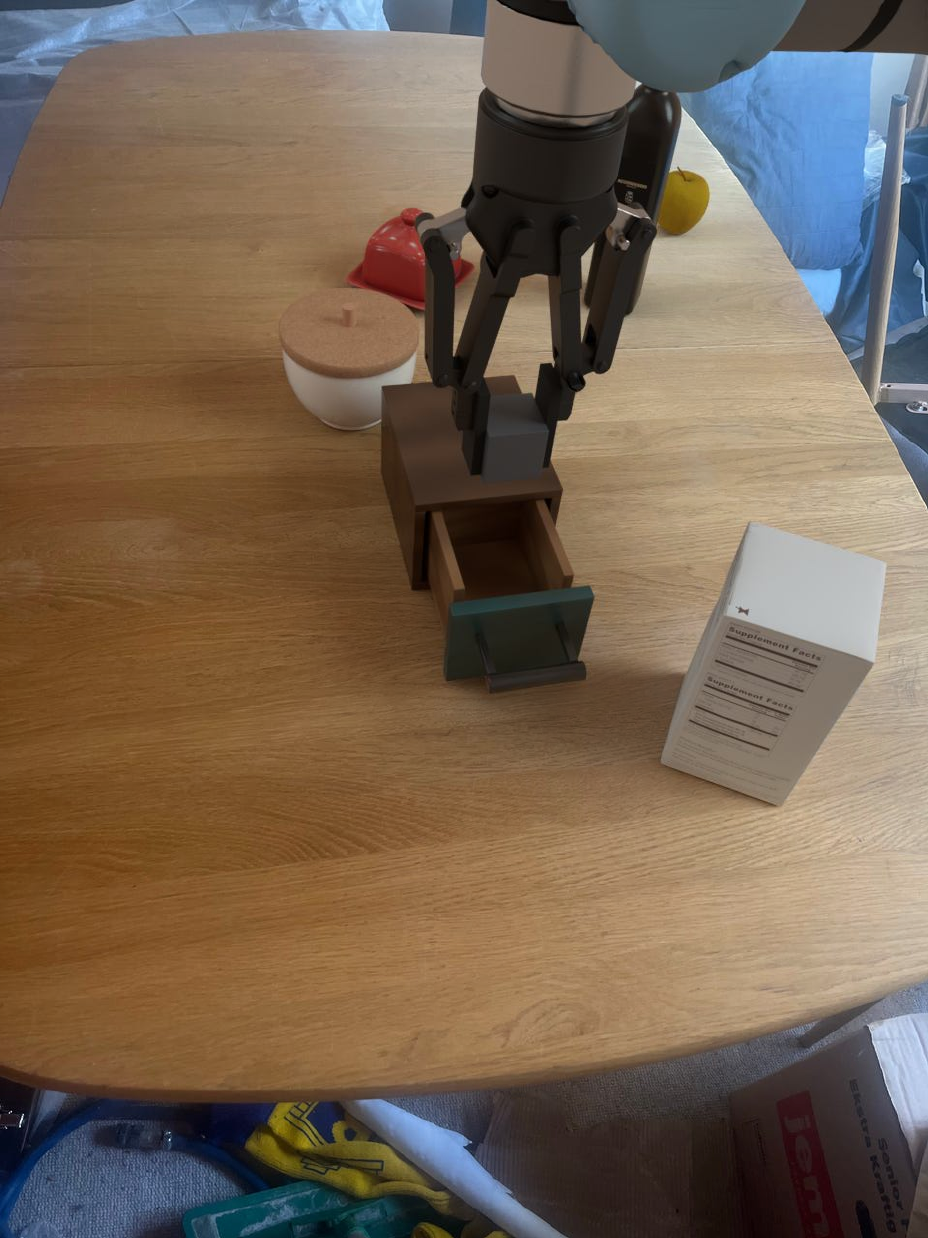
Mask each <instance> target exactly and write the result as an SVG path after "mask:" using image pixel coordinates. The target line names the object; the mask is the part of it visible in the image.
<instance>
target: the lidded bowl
mask: <svg viewBox="0 0 928 1238" xmlns="http://www.w3.org/2000/svg"><path fill="white" fill-rule="evenodd" d="M417 319H418V318H417V317H416V316H415V314H414V313H413V312H412V310H411V309H410V308H409V307H408V306H407V305H406V304H403V303H401V302H400V301H398V300H396V299H394V298H392V297H390V296H388V295H385V294H383V293H379V292H376V291H372V290H366V289H360V288H357V287H336V288H328V289H327V288H326V289H323V290H318V291H315V292H312V293H309V294H306V295H304V296H302V297H300V298H298V299H297V300H295V301H294V302H292V303H291V304H290V305H289V306H288V307H287V308H286V309H285V310H284V312H283V313H282V314H281V317H280V319H279V322H278V338H279V343H280V345H281V353H282V360H283V365H284V370H285V374H286V377H287V380H288V383H289V385H290V388H291V390H292V391H293V393H294V395H295V397H296V399H297V400H298V401H299V402H300V403H301V405H302V406H304V408H305V409H306V410H307V411H309V412H310V413H311V414H312V415H314V416H315V417H317V418H318V419H319V420H320V421H321V422H322V423H323V424H325V425H327V426H329V427H331V428H334V429H336V430H337V429H338V430H343V431H359V430H360V431H361V430H365V429H369V428H371V427H374V426H376V425H378V424H380V423H381V394H382V393H381V387H382V386H386V385H398V384H410V383H413V380H414V375H415V371H416V367H417V366H416V365H417V354H418V346H419V341H420V324H419V321H418V320H417Z"/></svg>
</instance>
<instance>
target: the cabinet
mask: <svg viewBox="0 0 928 1238" xmlns="http://www.w3.org/2000/svg"><path fill="white" fill-rule="evenodd" d="M484 379H485V381H486V384H487V386H488V389H489V391H490V394H491V396H500V395H512V394H523V392H522V390H521V387H520V385H519V382H518V380H517V377H516V376H515V374H510V375H498V376H484ZM452 388H453V387H452V386H449V385H448V386H447V387H444V388H438V387H435V385H434V384H433V382H432V381H423V382H411V383H410V384H398V385H386V386H382V387H381V393H382V394H381V422H380V474H381V478H382V481H383V486H384V490H385V493H386V497H387V501H388V505H389V510H390V513H391V515H392V521H393V525H394V528H395V531H396V537H397V539H398V543H399V547H400V551H401V554H402V555H401V556H402V558H403V563H404V566H405V571H406V574H407V578H408V582H409V585H410V590H412V591H415V590H423V589H431V588H430V585H429V581H428V578H427V574H426V570H425V567H424V563H423V543H424V526H425V512H426V511H435V510H445V509H454V508H463V507H472V506H481V505H490V504H500V503H509V502H518V501H527V500H536V499H544V501H545V503H546V505H547V508H548V510H549V513H550V515H551V518H552V520H553V523H554V525H555V528H556V527H557V522H558V516H559V512H560V511H559V510H560V507H561V502H562V498H563V494H564V493H563V492H564V487H563V485H562V483H561V481H560V479H559V476H558V473H557V472H556V469H555V467H554V464H553V462H552V459H550V465H549V468H542V472H541V477H540V478H531V479H521V480H512V481H502V482H493V483H483V481H482V478H481V475H473V476H471V475H470V472H469V469H468V467H467V464H466V461H465V458H464V455H463V452H462V438H463V431H458V430H457V427H456V425H455V422H454V419H453V416H452V413H451V401H452Z"/></svg>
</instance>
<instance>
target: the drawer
mask: <svg viewBox="0 0 928 1238" xmlns="http://www.w3.org/2000/svg"><path fill="white" fill-rule="evenodd" d="M423 563H424V567H425V570H426V574H427V578H428V581H429V585H430V588H429V589H430V592H431V596H432V600H433V602H434V606H435V610H436V613H437V614H436V615H437V618H438V621H439V624H440V628H441V632H442V636H443V639H444V642H445V643H444V653H443V665H442V672H443V677H444V680H445V682H446V683H449V682H456V681H462V680H469V679H470V680H471V679H476V678H484V677H485V678H484V682H485V683H484V685H485V689H486V692H487V693H488V695H497V694H503V693H510V692H517V691H524V690H530V689H536V688H543V687H551V686H557V685H563V684H564V685H565V684H569V683H576V682H583V681H586V680H587V678H588V669H587V665H586V663H585V662H584V661H583V660H579V657H580V654H581V650H582V647H583V642H584V639H585V635H586V631H587V628H588V623H589V620H590V617H591V613H592V610H593V609H592V608H593V605H594V601H595V593H594V592H593V589H592V586H591V585H589V584H587V585H579V586H573V582H574V578H575V572H574V570H573V567H572V564H571V562H570V560H569V557H568V555H567V553H566V550H565V548H564V544H563V542H562V540H561V538H560V535H559V533H558V530H557V528H556V527H555V525H554V523H553V520H552V518H551V515H550V513H549V510H548V508H547V505H546V503H545V501H544V499H536V500H527V501H518V502H509V503H500V504H490V505H481V506H472V507H463V508H454V509H445V510H435V511H426V512H425V526H424V543H423Z"/></svg>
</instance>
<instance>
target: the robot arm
mask: <svg viewBox="0 0 928 1238" xmlns="http://www.w3.org/2000/svg"><path fill="white" fill-rule="evenodd" d="M485 12H486V13H485V22H484V23H485V24H484V35H483V46H482V55H481V56H482V57H481V67H480V68H481V69H480V77H481V80H482V83H483V84H484V86H485V87H484V88H483V89H482V91H481V92H480V93H479V95H478V100H477V101H478V102H477V112H476V113H477V114H476V126H475V138H474V150H473V151H474V152H473V163H472V176H471V177H472V178H471V181H470V184H469V185H468V188H467V190H466V191H465V192H464V194H463V196H462V198H461V202H460V207H458V208H456V209H454V210H451V211H449V212H447V213H444V214H442V215H440V216H437V217H435V215H434V214H432V213H431V212H424V213H421V214H420V215H418V216H417V217H416V219H415V222H414V225H415V229H416V232H417V234H418V237H419V240H420V242H421V245H422V247H423V250H424V253H425V311H424V350H423V351H424V357H423V358H424V361H425V364H426V367H427V370H428V373H429V376H430V379H431V382H433V384H434V385H435V387H438V388H444V387H447V386H448V385H449V386H452V387H453V388H452V401H451V413H452V416H453V419H454V422H455V425H456V427H457V430H458V431H463V438H462V452H463V455H464V458H465V461H466V464H467V467H468V469H469V472H470V475H471V476H473V475H481V472H482V463H483V455H484V446H485V437H486V430H487V424H488V416H489V407H490V399H491V394H490V391H489V389H488V386H487V384H486V381H485V379H484V377H485V373H486V370H487V367H488V365H489V362H490V358H491V356H492V353H493V350H494V347H495V345H496V341H497V338H498V335H499V332H500V329H501V326H502V324H503V320H504V317H505V314H506V311H507V308H508V306H509V303H510V300H511V298H514V297H515V296H516V294H517V291H518V288H519V285H520V283H521V279H525V278H528V277H531V276H534V275H541V276H547V285H548V299H549V300H548V301H549V302H548V303H549V318H550V334H551V335H550V336H551V348H552V350H551V351H552V359H553V361H554V362H544V363H541V362H540V363H539V369H538V373H537V374H538V375H537V382H536V387H535V394H534V398H535V401H536V403H537V405H538V407H539V410H540V412H541V414H542V417H543V419H544V421H545V423H546V426H547V428H548V430H549V433H548V439H547V444H546V450H545V455H544V461H543V466H542V468H549V465H550V460H552V459H551V458H552V453H553V449H554V448H553V447H554V443H555V439H556V438H555V437H556V431H557V427H558V422H564V421H565V422H566V421H568V420H569V418H570V417H571V416H572V412H573V408H574V407H573V406H574V403H575V402H574V401H575V397H576V393H579V392H581V391H583V390H584V389H585V388H586V386H587V381H586V379H585V378H584V376H587V375H589V374H591V373H594V374H597V375H603V374H605V373H607V372H608V371H610V369H611V367H612V365H613V362H614V361H613V360H614V357H615V353H616V350H617V345H618V342H619V338H620V335H621V331H622V327H623V324H624V320H625V317H626V315H625V313H626V309H627V305H628V302H629V298H630V294H631V291H632V287H633V283H634V279H635V276H636V272H637V268H638V265H639V263H640V261H641V259H642V258H643V256H644V255H645V253H646V252H647V250H648V248H649V247H650V245H651V244H652V245H653V243H652V242H654V240H655V239H656V237H657V235H658V228H657V226H655V225H654V223H653V222H652V220H651V219H650V218H649V216H648V215H647V213H646V212H645V210H644V209H643V207H642V206H641V205H640V204H639V203H637V202H633V203H630V204H628V205H627V206H626V205H623V204H621V203H618V202H617V199H616V196H615V193H614V182H615V180H616V178H617V176H618V171H619V166H620V161H621V156H622V150H623V145H624V140H625V135H626V130H627V125H628V120H629V112H628V109H627V107H626V106H625V104H626V103H628V102H629V101H630V100H631V99H632V98H633V95H634V91H635V89H636V86H637V82H638V83H640V84H644V85H646V86H648V87H651V88H654V89H657V90H661V91H666V92H672V93H676V94H688V93H689V94H691V93H692V94H693V93H699V92H705V91H708V90H710V89H711V88H714V87H716V86H717V85H719V84H721V83H724V82H726V81H729V80H731V79H732V78H734V77H736V76H737V75H739V74H741V73H744V72H746V71H748V70H751V69H753V68H754V67H755V66H756V65H757V64H759V63H760V62H761V61H762V60H764V59H765V58H766V57H767V56H768V55H769V54H770V53H771V52H787V53H788V52H789V53H790V52H793V53H794V52H795V53H833V52H834V53H846V54H847V53H872V54H873V53H875V54H876V53H877V54H905V55H906V54H909V55H924V56H928V0H487V1H486V11H485ZM605 230H606V237H607V241H606V243H605V247H604V250H603V254H602V259H601V263H600V267H599V271H598V275H597V280H596V284H595V288H594V292H593V297H592V301H591V305H590V306H589V310H588V314H587V317H586V321H585V327H584V331H583V335H582V319H581V317H582V315H581V290H582V289H583V272H582V271H583V269H582V265H583V264H582V257H584V255H585V254H586V253H587V252H588V251H589V249H590V248H591V247H592V246H594V242H595V241H596V240H597V239H598V238H599V237H600V236H601V234H602V233H603V232H604V231H605ZM468 233H470V234H471V235H472V236H473V238H474V239H475V241H476V242H477V243H478V245H479V246H480V247H481V250H482V252H481V256H480V260H479V275H478V278H477V281H476V284H475V286H474V287H475V288H474V291H473V293H472V297H471V301H470V304H469V307H468V311H467V314H466V317H465V320H464V324H463V326H462V329H461V333H460V337H459V340H458V343H457V346H456V349H455V352H454V342H455V341H454V340H455V339H454V337H455V308H456V289H455V271H454V266H453V263H452V261H454V260H457V259H458V258H459V254H460V255H461V252H462V250H463V245H462V243H463V239H464V238H465V236H466V235H467V234H468Z"/></svg>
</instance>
